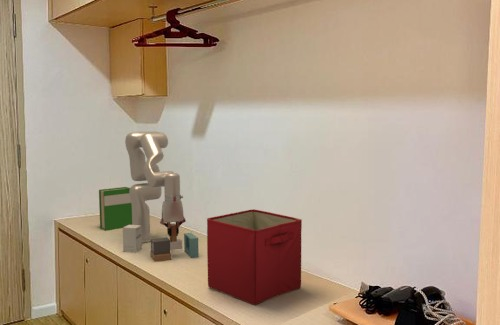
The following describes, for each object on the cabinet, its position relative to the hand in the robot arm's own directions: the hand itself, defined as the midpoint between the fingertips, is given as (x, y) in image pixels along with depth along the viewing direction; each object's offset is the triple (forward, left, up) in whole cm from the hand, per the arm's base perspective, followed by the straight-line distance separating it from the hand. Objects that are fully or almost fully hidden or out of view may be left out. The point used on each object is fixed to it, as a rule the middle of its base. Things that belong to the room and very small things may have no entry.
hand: (173, 235), depth 253 cm
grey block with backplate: (0, -6, -11) cm, 12 cm away
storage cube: (+57, +19, -11) cm, 61 cm away
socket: (0, +9, -11) cm, 14 cm away
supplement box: (-20, -16, -11) cm, 28 cm away
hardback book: (-76, -16, -11) cm, 79 cm away
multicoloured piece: (0, -3, -7) cm, 7 cm away
